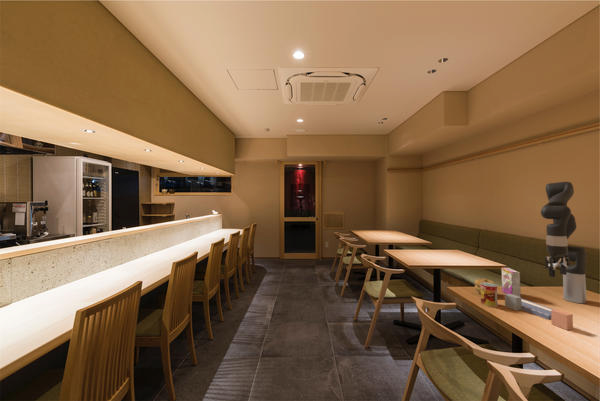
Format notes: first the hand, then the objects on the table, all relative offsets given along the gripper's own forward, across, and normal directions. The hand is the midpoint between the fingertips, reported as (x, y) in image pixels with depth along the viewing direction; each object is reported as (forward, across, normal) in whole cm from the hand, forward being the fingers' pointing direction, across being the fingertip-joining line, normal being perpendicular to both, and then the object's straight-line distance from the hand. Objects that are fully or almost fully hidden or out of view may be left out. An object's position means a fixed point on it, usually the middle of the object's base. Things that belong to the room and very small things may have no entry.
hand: (557, 275), depth 125 cm
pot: (+24, 0, -38) cm, 45 cm away
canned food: (+23, +14, -25) cm, 37 cm away
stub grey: (+23, +7, -17) cm, 30 cm away
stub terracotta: (+23, +7, +4) cm, 24 cm away
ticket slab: (+23, -2, -12) cm, 26 cm away
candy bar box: (+24, -14, -32) cm, 42 cm away
